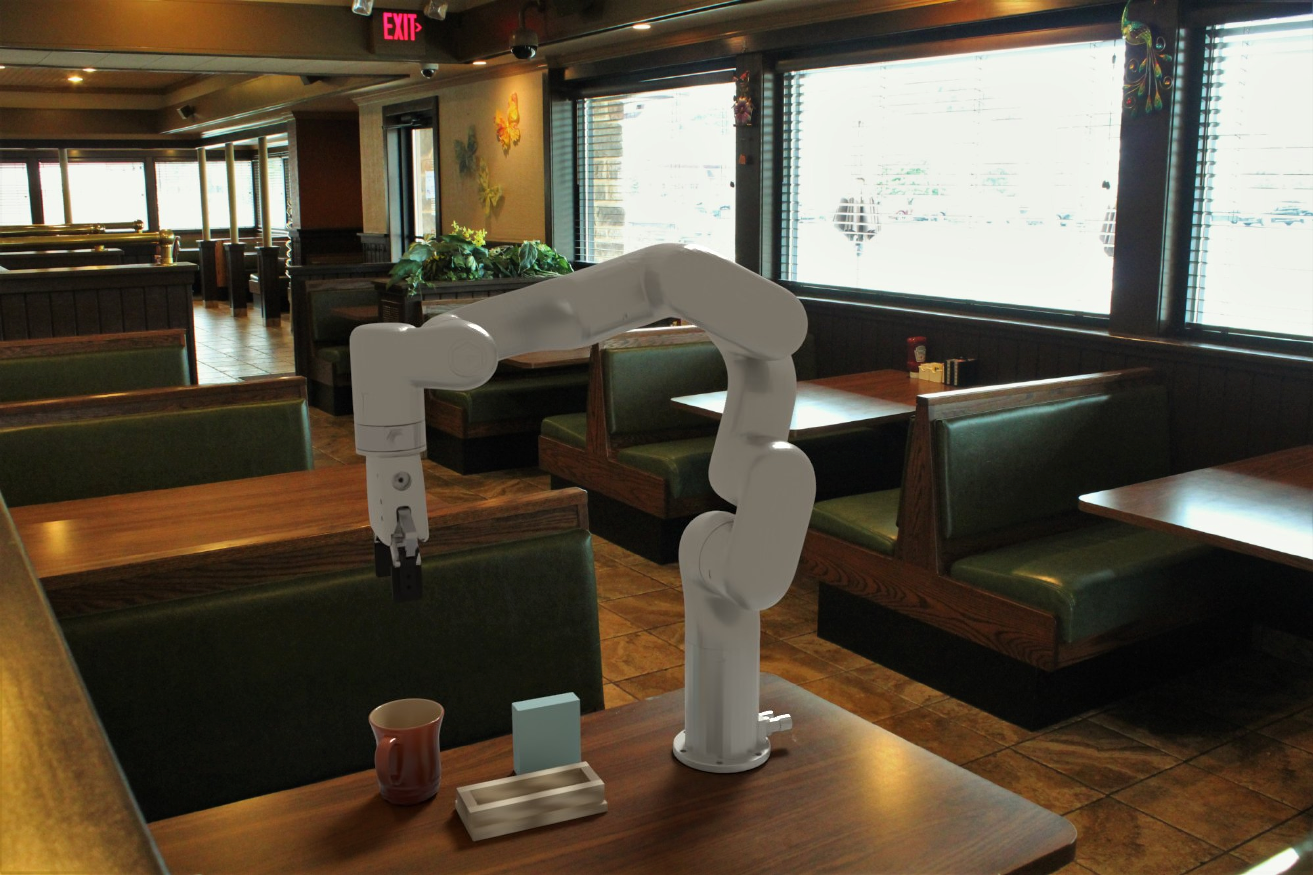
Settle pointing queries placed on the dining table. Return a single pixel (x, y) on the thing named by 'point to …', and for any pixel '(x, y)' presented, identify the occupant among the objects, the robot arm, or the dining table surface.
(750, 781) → the dining table surface
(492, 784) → the pale wooden tray
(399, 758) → the mug
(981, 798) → the dining table surface
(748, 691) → the robot arm
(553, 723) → the door panel
